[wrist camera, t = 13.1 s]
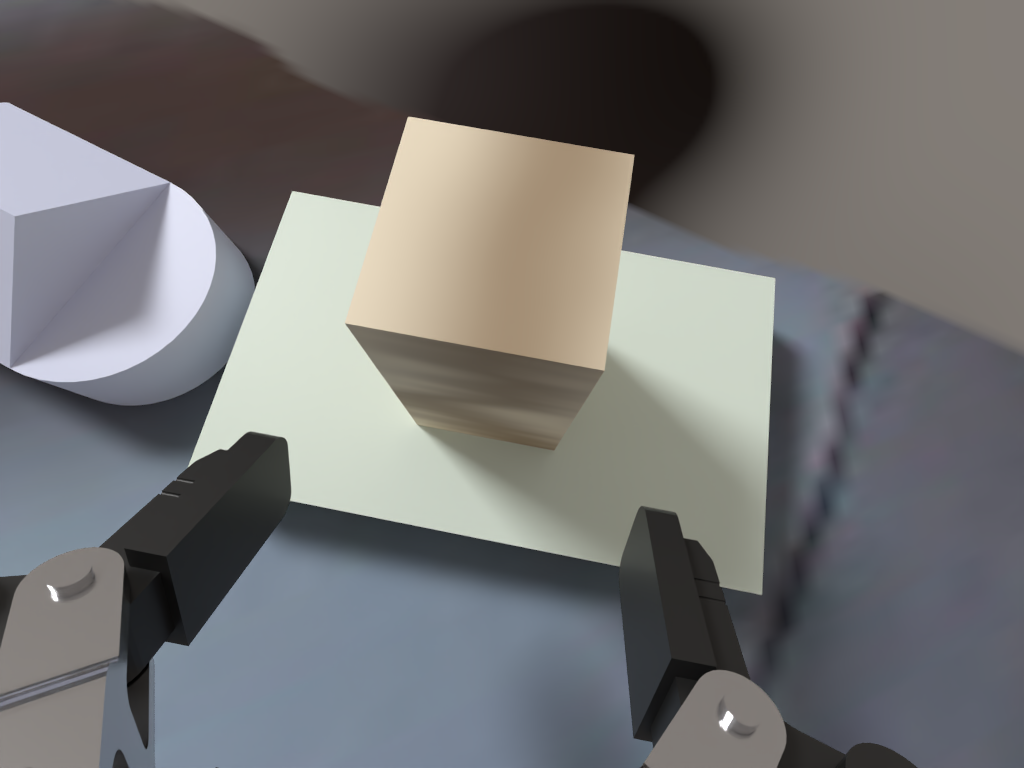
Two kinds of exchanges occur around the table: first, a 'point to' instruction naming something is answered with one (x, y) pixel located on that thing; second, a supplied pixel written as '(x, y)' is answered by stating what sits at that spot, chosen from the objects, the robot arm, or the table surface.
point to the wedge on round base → (109, 271)
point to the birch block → (493, 279)
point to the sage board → (505, 465)
